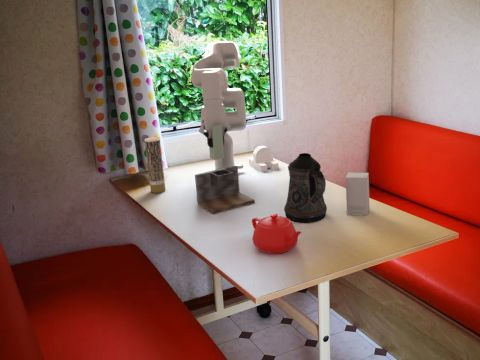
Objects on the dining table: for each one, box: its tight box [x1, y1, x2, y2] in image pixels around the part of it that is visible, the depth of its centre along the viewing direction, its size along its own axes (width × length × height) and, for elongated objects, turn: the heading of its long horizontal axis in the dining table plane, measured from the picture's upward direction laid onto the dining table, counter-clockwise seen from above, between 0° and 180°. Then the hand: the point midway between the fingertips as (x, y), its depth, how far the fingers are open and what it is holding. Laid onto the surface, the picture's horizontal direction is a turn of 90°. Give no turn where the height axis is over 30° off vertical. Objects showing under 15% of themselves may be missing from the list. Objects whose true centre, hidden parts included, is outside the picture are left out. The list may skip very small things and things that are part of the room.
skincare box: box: [345, 171, 370, 216], centre depth 215 cm, size 8×7×16 cm
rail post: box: [208, 124, 224, 161], centre depth 230 cm, size 4×4×16 cm
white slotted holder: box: [248, 145, 279, 173], centre depth 284 cm, size 10×18×11 cm, turn 21°
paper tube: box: [144, 136, 166, 194], centre depth 255 cm, size 7×7×25 cm
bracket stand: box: [194, 164, 256, 215], centre depth 234 cm, size 20×14×14 cm
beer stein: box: [283, 152, 328, 224], centre depth 213 cm, size 16×19×25 cm
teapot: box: [251, 213, 303, 255], centre depth 189 cm, size 25×16×12 cm, turn 38°
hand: (216, 145), depth 230 cm, fingers closed on rail post, 4 cm apart
